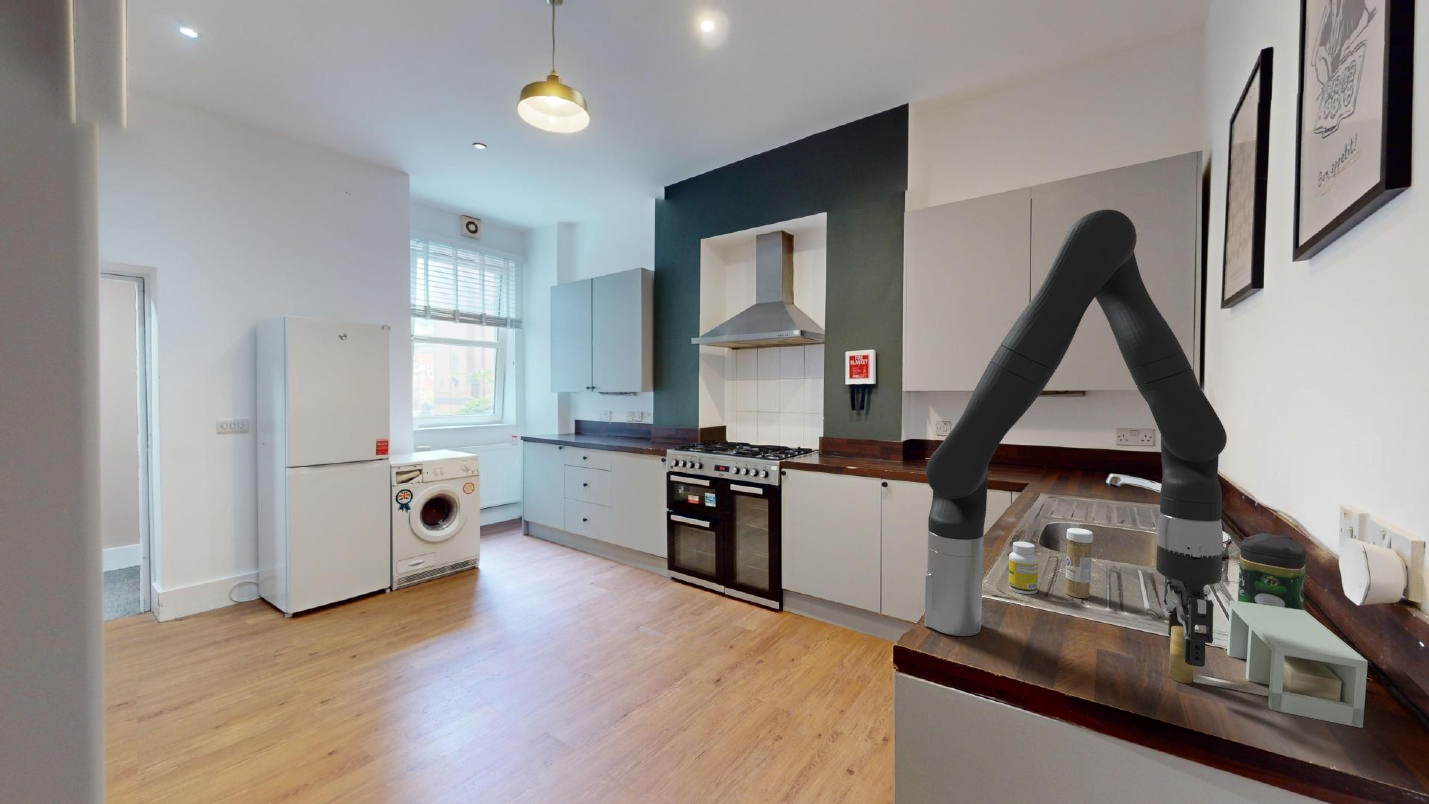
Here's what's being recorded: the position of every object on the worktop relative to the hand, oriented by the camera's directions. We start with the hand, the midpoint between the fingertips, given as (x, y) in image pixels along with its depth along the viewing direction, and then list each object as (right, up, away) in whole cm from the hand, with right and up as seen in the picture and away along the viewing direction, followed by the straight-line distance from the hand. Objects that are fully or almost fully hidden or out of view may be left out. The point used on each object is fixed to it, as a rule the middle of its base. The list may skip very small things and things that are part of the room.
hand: (1185, 651), depth 86 cm
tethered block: (+6, -5, -3) cm, 8 cm away
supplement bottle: (-6, -2, +34) cm, 35 cm away
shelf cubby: (+13, -4, -2) cm, 14 cm away
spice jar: (+4, -2, +32) cm, 32 cm away
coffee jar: (+22, -4, +10) cm, 25 cm away
